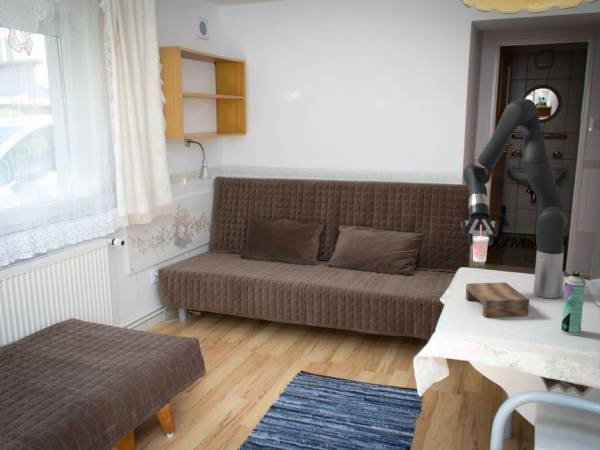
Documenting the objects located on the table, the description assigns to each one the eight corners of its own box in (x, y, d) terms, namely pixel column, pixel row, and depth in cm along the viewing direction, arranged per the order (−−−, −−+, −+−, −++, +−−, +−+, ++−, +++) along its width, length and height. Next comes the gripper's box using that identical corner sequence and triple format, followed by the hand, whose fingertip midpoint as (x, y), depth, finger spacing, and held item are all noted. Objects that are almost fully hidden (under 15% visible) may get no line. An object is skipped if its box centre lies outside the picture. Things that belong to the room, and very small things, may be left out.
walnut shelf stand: (504, 297, 208) (505, 282, 207) (528, 316, 190) (529, 299, 188) (465, 298, 207) (466, 283, 206) (485, 317, 189) (486, 300, 188)
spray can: (576, 328, 178) (581, 269, 174) (582, 335, 173) (589, 274, 169) (558, 328, 179) (563, 269, 175) (564, 335, 173) (570, 274, 169)
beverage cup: (490, 262, 208) (491, 226, 206) (473, 262, 209) (475, 226, 206) (485, 258, 214) (486, 222, 212) (469, 258, 215) (470, 223, 212)
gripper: (460, 202, 216) (461, 238, 207) (499, 202, 213) (502, 239, 204) (459, 212, 222) (460, 248, 213) (496, 213, 219) (499, 250, 210)
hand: (480, 244), depth 208 cm, fingers closed on beverage cup, 6 cm apart
